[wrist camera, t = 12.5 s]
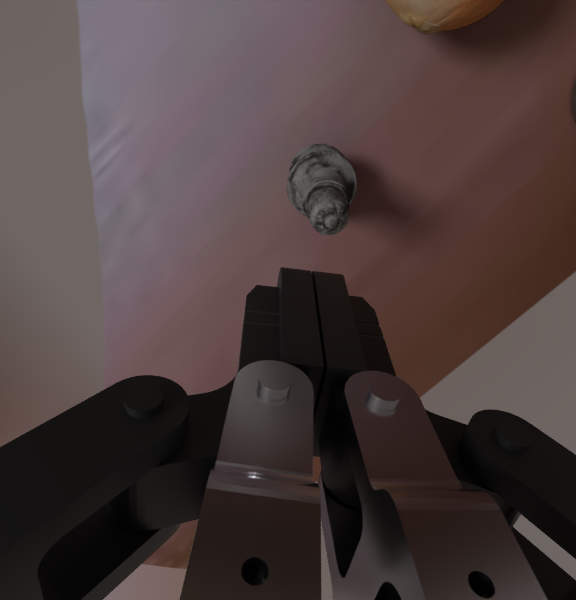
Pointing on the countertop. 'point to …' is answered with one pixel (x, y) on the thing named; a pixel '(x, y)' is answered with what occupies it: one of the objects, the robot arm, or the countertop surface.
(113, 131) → the countertop surface
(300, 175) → the salt shaker
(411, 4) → the onion
